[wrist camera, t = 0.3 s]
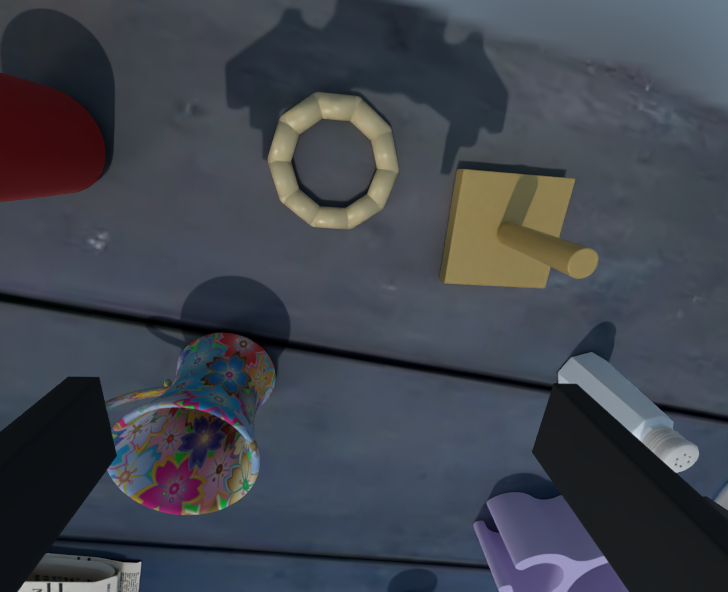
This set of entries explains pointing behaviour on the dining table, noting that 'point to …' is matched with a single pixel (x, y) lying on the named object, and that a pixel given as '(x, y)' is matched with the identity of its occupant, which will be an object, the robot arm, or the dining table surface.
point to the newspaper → (82, 575)
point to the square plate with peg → (510, 231)
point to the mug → (195, 429)
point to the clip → (542, 548)
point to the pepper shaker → (630, 408)
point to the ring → (307, 116)
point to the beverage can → (45, 142)
